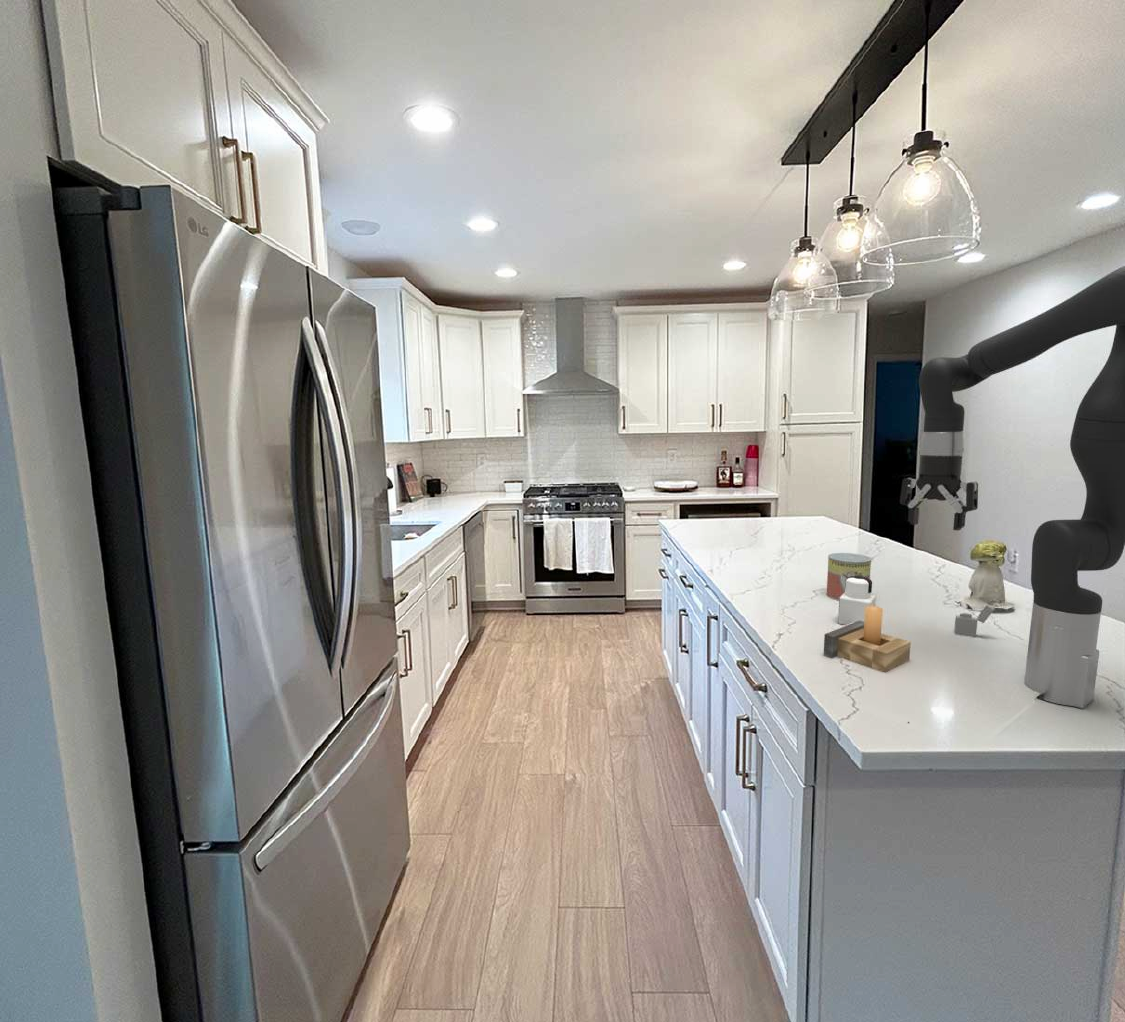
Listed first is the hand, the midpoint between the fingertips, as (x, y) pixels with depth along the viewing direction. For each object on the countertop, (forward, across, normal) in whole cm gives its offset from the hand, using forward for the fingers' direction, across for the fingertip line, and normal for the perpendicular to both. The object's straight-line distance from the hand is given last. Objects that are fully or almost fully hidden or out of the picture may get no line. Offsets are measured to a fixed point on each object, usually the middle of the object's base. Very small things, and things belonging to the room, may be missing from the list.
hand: (935, 527), depth 121 cm
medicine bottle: (+28, -18, +4) cm, 34 cm away
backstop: (+28, -1, -17) cm, 33 cm away
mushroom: (+28, -4, +44) cm, 52 cm away
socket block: (+27, -3, -17) cm, 32 cm away
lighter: (+28, +3, +17) cm, 33 cm away
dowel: (+26, -3, -17) cm, 31 cm away
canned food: (+28, -31, +23) cm, 48 cm away
